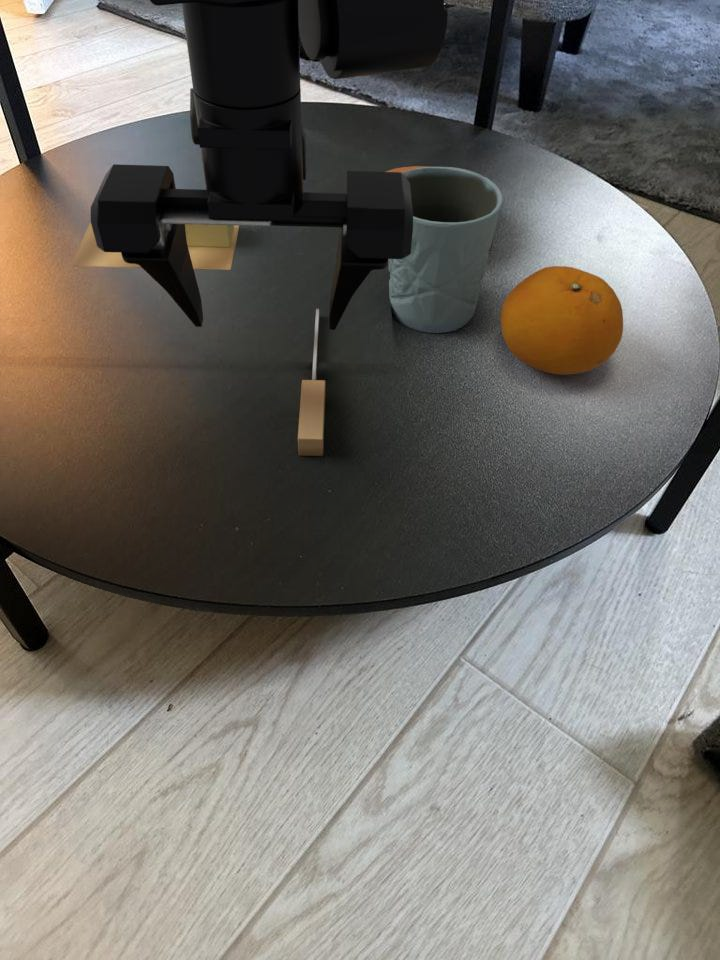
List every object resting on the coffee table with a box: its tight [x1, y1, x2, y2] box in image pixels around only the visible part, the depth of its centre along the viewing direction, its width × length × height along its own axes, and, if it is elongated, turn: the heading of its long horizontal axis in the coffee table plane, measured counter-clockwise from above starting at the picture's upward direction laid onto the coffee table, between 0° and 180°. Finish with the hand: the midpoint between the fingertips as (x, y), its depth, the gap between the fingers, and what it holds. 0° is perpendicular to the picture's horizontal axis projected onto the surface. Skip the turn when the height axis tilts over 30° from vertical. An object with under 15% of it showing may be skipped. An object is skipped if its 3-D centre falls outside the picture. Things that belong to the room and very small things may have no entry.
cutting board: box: [70, 221, 240, 271], centre depth 78 cm, size 16×12×1 cm
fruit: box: [500, 265, 624, 376], centre depth 66 cm, size 10×10×8 cm
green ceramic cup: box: [388, 166, 504, 334], centre depth 68 cm, size 10×10×12 cm
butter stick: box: [185, 224, 234, 247], centre depth 77 cm, size 7×4×3 cm, turn 90°
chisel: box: [297, 308, 327, 457], centre depth 64 cm, size 17×2×2 cm, turn 0°
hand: (266, 324), depth 51 cm, fingers open, 9 cm apart
